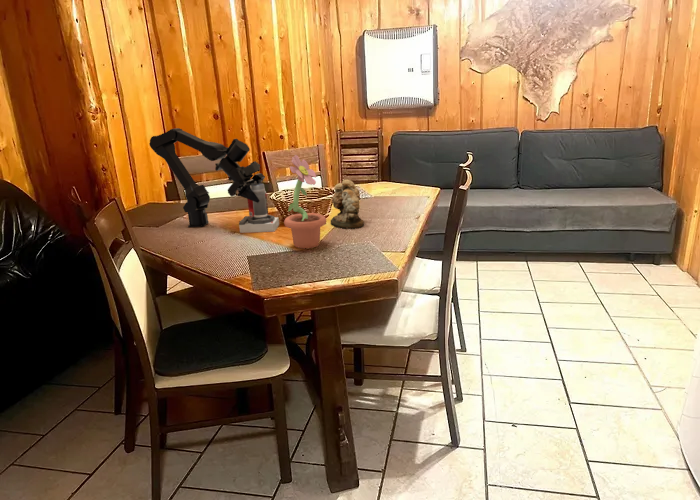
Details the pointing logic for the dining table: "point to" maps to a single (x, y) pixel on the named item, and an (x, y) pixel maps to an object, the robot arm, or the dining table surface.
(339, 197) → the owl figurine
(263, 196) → the gray tumbler
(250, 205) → the canned food
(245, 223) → the square flange plate
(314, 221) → the decorative flower
